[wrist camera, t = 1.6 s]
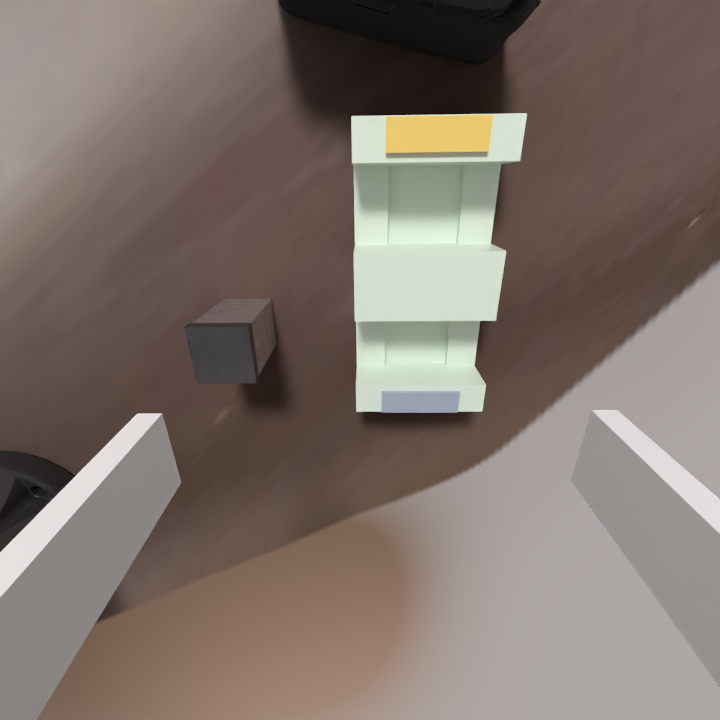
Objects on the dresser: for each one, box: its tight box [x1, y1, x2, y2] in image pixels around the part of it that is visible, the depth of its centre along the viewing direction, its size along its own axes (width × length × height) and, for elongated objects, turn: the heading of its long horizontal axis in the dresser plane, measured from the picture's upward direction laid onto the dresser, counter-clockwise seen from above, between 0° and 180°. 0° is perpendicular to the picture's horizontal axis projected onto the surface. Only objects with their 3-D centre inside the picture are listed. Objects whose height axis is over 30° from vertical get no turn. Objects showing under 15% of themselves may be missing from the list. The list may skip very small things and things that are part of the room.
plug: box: [185, 299, 277, 383], centre depth 28 cm, size 4×4×7 cm
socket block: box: [351, 113, 527, 413], centre depth 27 cm, size 10×20×5 cm, turn 1°
